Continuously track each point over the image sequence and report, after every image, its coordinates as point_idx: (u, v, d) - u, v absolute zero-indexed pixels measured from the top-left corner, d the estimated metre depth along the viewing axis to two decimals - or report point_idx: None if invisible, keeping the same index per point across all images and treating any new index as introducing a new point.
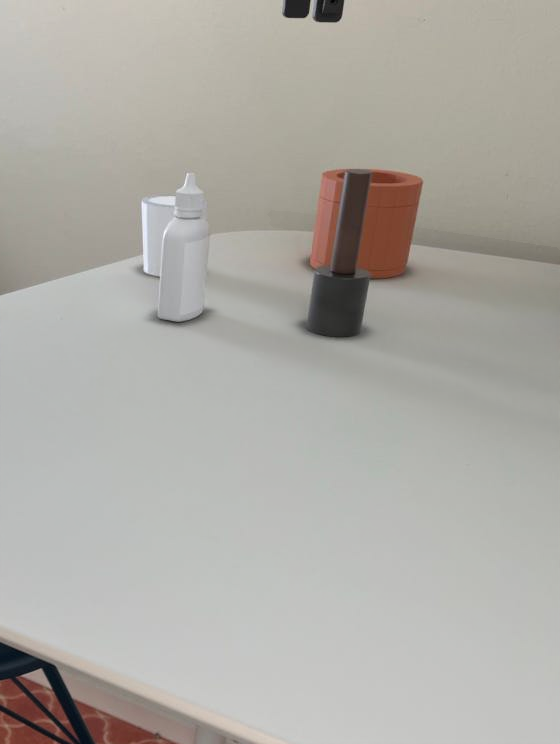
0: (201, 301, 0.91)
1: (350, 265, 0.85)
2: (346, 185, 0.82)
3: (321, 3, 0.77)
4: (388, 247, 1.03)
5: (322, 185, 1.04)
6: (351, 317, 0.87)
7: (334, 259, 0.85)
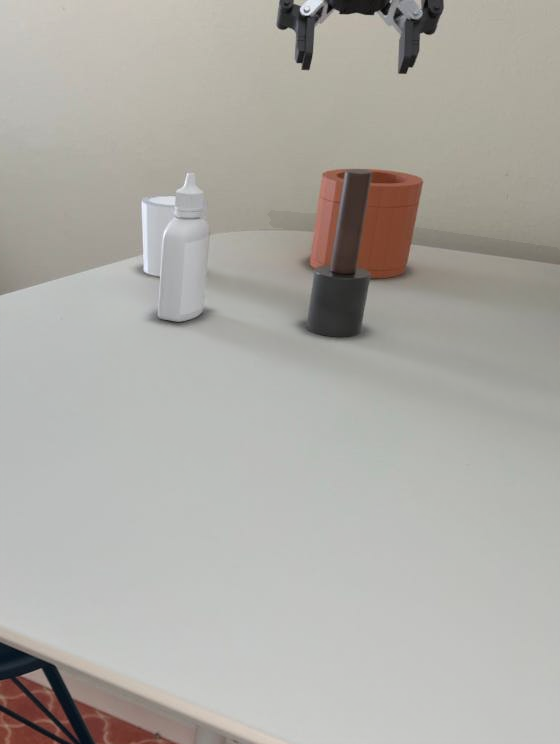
0: (201, 301, 0.91)
1: (350, 265, 0.85)
2: (346, 185, 0.82)
3: None
4: (388, 247, 1.03)
5: (322, 185, 1.04)
6: (351, 317, 0.87)
7: (334, 259, 0.85)
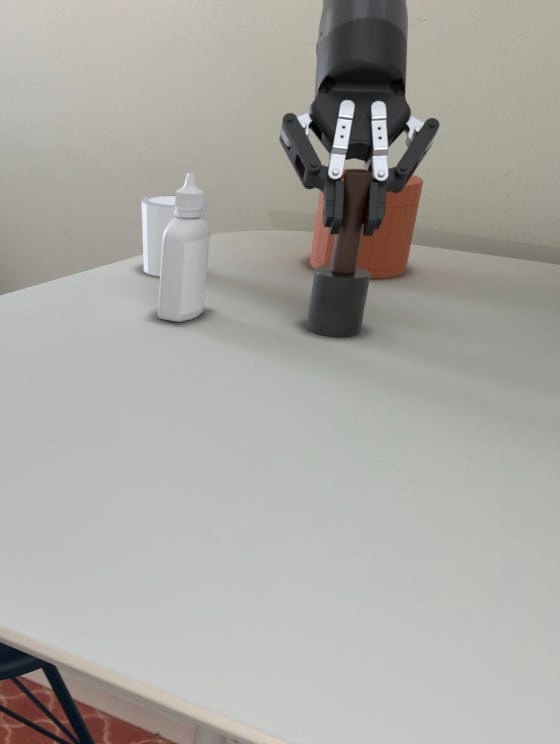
0: (201, 301, 0.91)
1: (350, 265, 0.85)
2: (346, 185, 0.82)
3: None
4: (388, 247, 1.03)
5: None
6: (351, 317, 0.87)
7: (334, 259, 0.85)
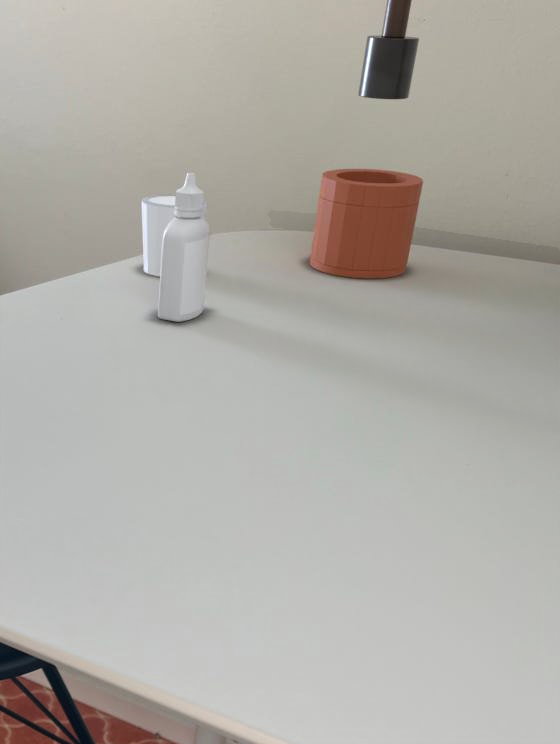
0: (201, 301, 0.91)
1: (401, 28, 0.93)
2: None
3: None
4: (388, 247, 1.03)
5: (322, 185, 1.04)
6: (401, 79, 0.95)
7: (386, 23, 0.94)
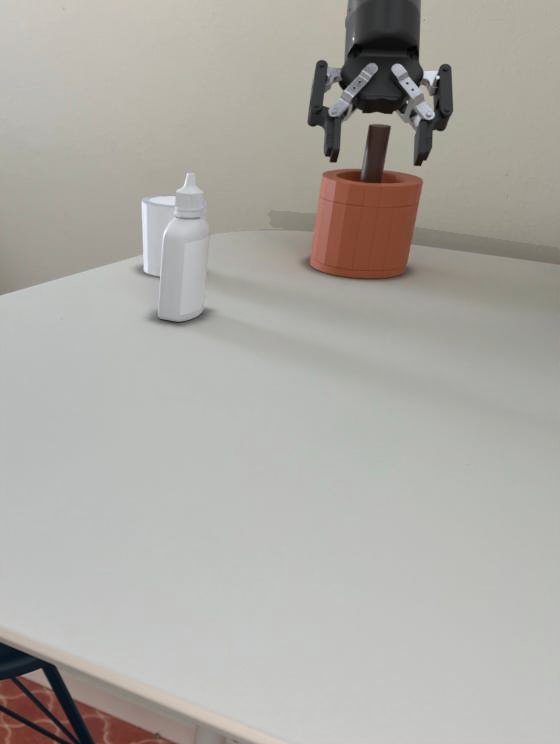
0: (201, 301, 0.91)
1: None
2: (370, 136, 1.01)
3: None
4: (388, 247, 1.03)
5: (322, 185, 1.04)
6: None
7: None
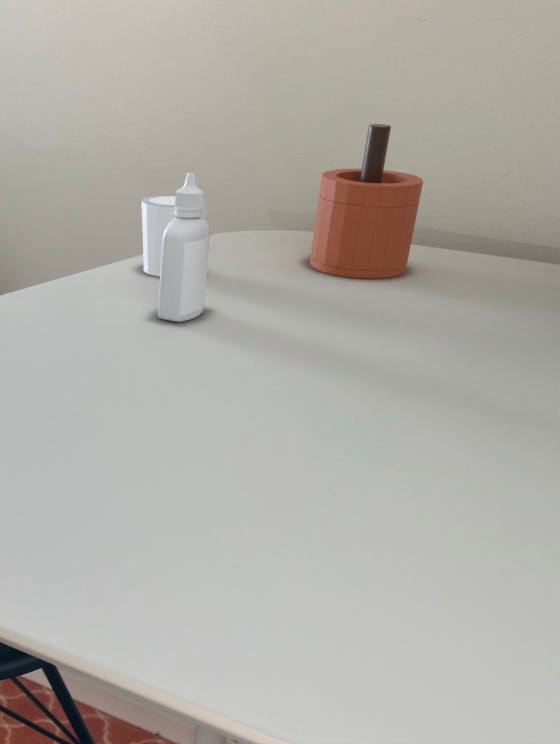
0: (201, 301, 0.91)
1: None
2: (370, 136, 1.01)
3: None
4: (388, 247, 1.03)
5: (322, 185, 1.04)
6: None
7: None
